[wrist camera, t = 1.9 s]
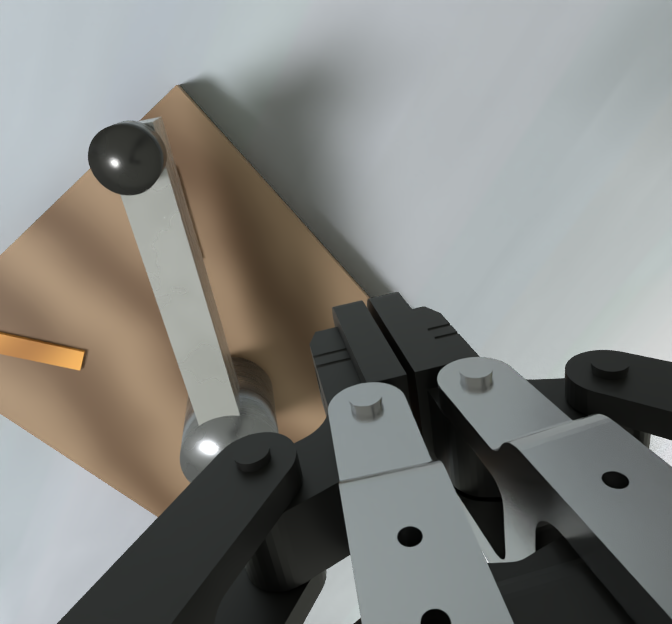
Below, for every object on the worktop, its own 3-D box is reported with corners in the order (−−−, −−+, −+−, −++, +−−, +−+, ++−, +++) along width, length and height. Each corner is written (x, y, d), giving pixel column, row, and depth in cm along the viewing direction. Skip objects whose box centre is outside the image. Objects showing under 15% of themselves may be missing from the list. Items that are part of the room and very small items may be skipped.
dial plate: (179, 84, 27) (176, 85, 25) (471, 410, 38) (481, 424, 37) (-83, 337, 29) (-100, 351, 28) (265, 571, 41) (266, 590, 39)
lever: (280, 417, 33) (294, 510, 26) (201, 436, 33) (192, 537, 26) (199, 102, 26) (186, 111, 18) (93, 122, 25) (38, 139, 18)
